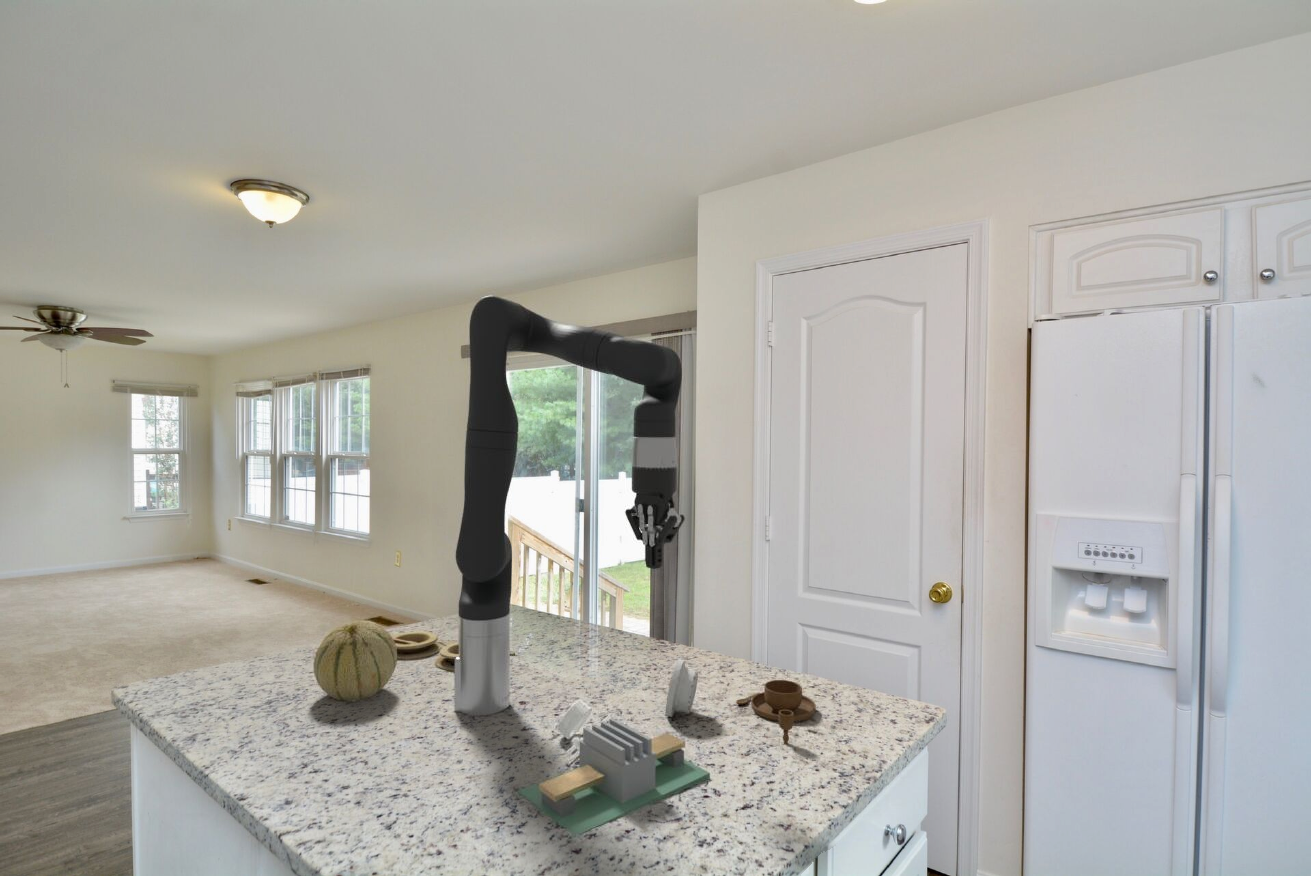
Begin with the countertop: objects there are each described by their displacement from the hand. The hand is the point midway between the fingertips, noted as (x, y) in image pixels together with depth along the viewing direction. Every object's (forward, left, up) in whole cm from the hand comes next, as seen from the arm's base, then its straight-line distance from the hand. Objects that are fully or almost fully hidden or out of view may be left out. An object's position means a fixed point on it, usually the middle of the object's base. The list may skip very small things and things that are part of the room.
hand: (653, 567), depth 115 cm
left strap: (-6, -20, -25) cm, 32 cm away
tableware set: (-52, +38, -30) cm, 71 cm away
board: (-4, -17, -29) cm, 34 cm away
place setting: (+21, +11, -30) cm, 38 cm away
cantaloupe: (-58, +13, -29) cm, 66 cm away
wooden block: (-2, -15, -25) cm, 29 cm away
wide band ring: (-14, -2, -29) cm, 32 cm away
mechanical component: (+4, +10, -29) cm, 31 cm away
